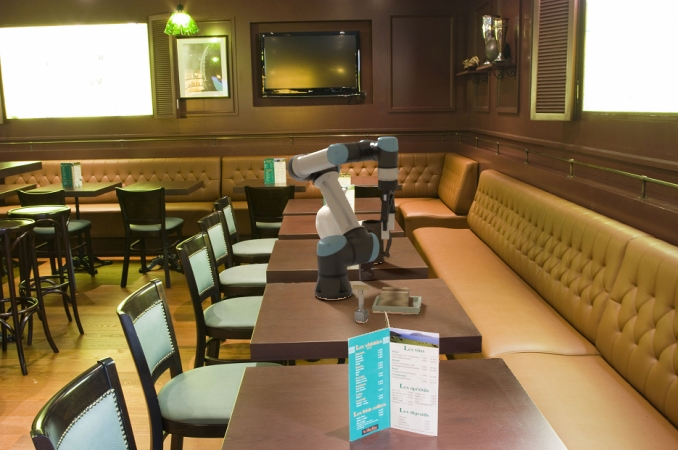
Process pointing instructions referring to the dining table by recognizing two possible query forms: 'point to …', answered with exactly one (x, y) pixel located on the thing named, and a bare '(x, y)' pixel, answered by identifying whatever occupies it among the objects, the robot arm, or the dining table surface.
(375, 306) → the tray
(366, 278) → the box
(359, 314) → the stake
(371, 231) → the beer stein
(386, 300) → the slotted wooden block
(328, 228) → the vase
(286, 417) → the dining table surface
